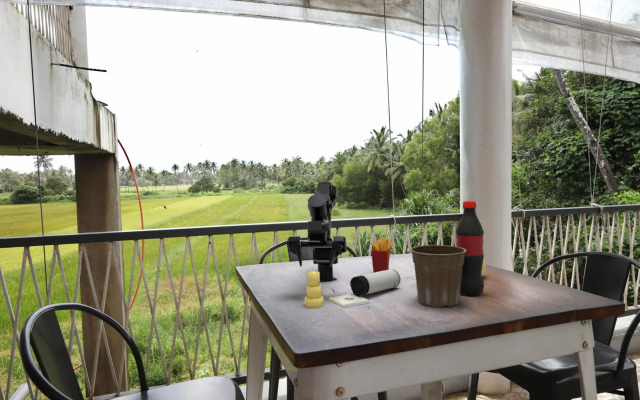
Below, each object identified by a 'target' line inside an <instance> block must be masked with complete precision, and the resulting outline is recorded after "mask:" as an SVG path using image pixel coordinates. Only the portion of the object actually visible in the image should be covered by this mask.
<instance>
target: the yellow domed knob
mask: <svg viewBox="0 0 640 400" xmlns="http://www.w3.org/2000/svg"><path fill="white" fill-rule="evenodd" d="M320 282H321V281H320V275H319V272H318V270H310V271H307V285H306V288H305V289H306V295H305V296H304V307H306V308H308V309H317V308H319V309H320V308H322V307H324V296H323V295H322V285H321V283H320Z"/></svg>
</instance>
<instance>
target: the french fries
mask: <svg viewBox="0 0 640 400" xmlns="http://www.w3.org/2000/svg"><path fill="white" fill-rule="evenodd" d="M370 245H372V246H371V247H372V249H371V251H370V254H371V263H372V270H373V272H372V273H375V272H380V271H385V270H390V258H391V255H390V254H391V247H392V246H393V245H394V243H393V242H392V241H391V240H389V238H387V237H384V236H381V238H379V239H378V240H377V241H374V242H372V241H371V242H370Z"/></svg>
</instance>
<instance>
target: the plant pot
mask: <svg viewBox="0 0 640 400" xmlns="http://www.w3.org/2000/svg"><path fill="white" fill-rule="evenodd" d="M410 253H411V257H412V263H413V264H414V272H415V273H414V274H415V281H416V292H417V301H418V302H419V303H420V304H422V305H424V306H427V307H432V308H434V307H435V308H443V307H445V306H446V307H448V308H450V307H451V308H452V307H456V306H457V305H458V304H460V302H461V301H460V300H461V298H460V297H461V293H460V288H461V275H462V265H463V264H464V255H465V253H466V249H464V248H461V247H456V245H447V244H445V245H444V244H443V245H441V244H428V245H427V244H425V245H415V246H414V247H411V248H410Z"/></svg>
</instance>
